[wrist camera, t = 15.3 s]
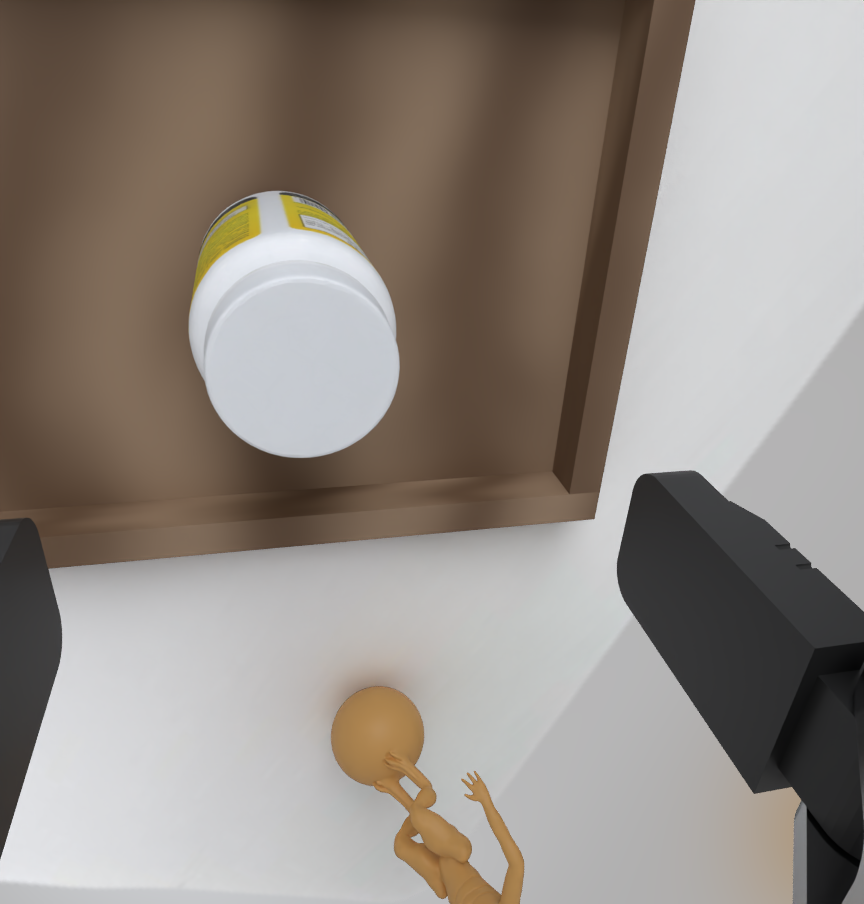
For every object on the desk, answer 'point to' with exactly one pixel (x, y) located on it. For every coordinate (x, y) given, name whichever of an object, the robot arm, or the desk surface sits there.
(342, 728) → the figurine
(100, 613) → the desk surface
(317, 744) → the desk surface
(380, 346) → the supplement bottle
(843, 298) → the desk surface
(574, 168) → the walnut tray
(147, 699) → the desk surface
